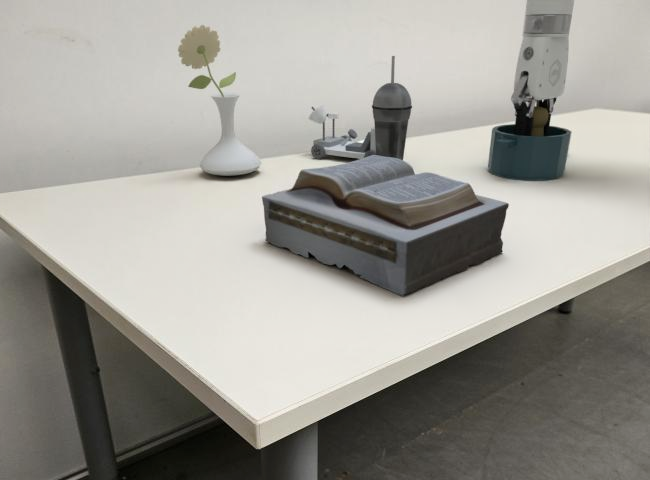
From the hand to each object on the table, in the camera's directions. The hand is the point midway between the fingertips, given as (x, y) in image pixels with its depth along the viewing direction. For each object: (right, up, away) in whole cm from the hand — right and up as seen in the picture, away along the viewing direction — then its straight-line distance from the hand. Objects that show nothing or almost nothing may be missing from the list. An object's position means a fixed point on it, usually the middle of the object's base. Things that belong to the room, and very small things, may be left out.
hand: (530, 136), depth 111 cm
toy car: (-32, 0, +16) cm, 36 cm away
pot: (0, -6, +3) cm, 6 cm away
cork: (0, -5, +3) cm, 6 cm away
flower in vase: (-56, -6, +3) cm, 56 cm away
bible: (-30, -25, -33) cm, 51 cm away
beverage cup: (-25, -6, +4) cm, 26 cm away
